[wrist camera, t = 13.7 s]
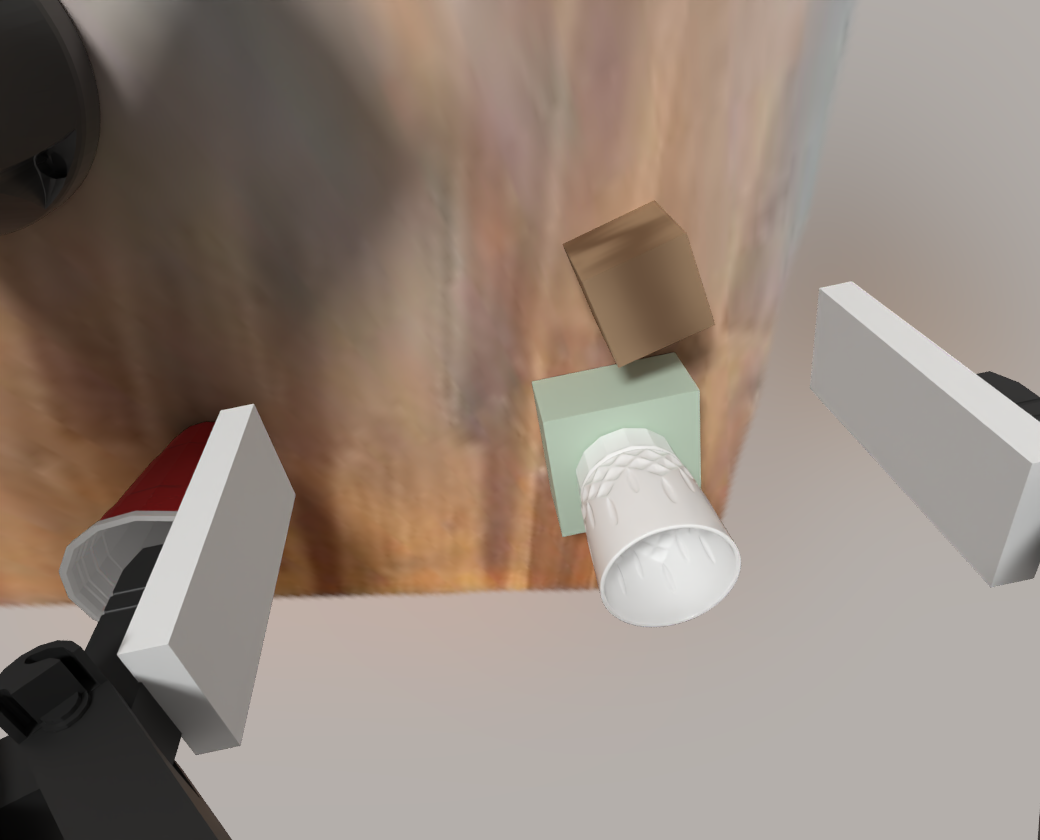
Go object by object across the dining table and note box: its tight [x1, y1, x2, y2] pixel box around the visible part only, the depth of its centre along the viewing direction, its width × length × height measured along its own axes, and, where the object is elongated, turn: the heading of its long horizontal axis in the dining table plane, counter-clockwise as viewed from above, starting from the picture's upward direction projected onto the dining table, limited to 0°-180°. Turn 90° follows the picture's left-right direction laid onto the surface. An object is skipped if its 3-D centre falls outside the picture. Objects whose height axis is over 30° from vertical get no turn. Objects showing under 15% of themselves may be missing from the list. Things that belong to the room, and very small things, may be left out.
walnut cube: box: [563, 200, 715, 368], centre depth 41 cm, size 6×6×6 cm
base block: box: [532, 352, 701, 537], centre depth 48 cm, size 10×10×5 cm
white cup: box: [576, 428, 741, 627], centre depth 42 cm, size 8×8×10 cm
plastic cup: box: [59, 422, 216, 622], centre depth 43 cm, size 11×11×12 cm
